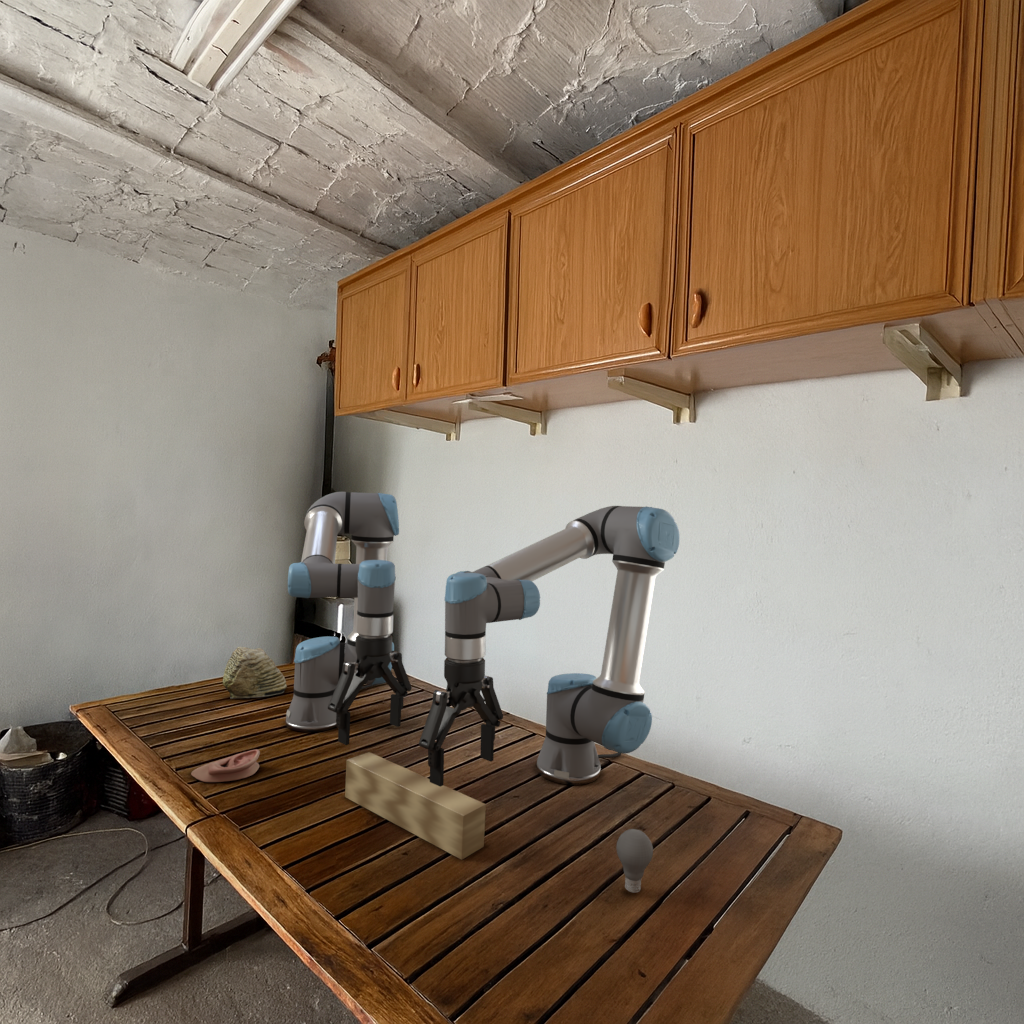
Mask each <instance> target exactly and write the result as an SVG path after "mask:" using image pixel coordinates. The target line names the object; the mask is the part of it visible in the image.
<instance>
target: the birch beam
mask: <svg viewBox="0 0 1024 1024" xmlns="http://www.w3.org/2000/svg"><path fill="white" fill-rule="evenodd" d="M345 765H346V766H345V787H344V788H345V789H344V798H346V799H348V800H350V801H352V802H353V803H355V804H357V805H359V806H360V807H362V808H364V809H366V810H368V811H370V812H371V813H374V814H375V815H377V816H379V817H381V818H383V819H385V820H387V821H388V822H390V823H392V824H394V825H396V826H398V827H400V828H402V829H404V830H405V831H407V832H409V833H411V834H413V835H414V836H416V837H418V838H420V839H422V840H424V841H426V842H428V843H430V844H431V845H432V846H435V847H436V848H439V849H440V850H443V851H444V852H446V853H448V854H450V855H452V856H454V857H455V858H458V859H459V860H461V861H463V860H464V859H466V858H467V857H469V856H471V855H472V854H475V853H476V852H477V851H479V850H480V849H483V848H484V846H485V831H486V830H485V829H486V806H487V805H486V803H484V802H482V801H480V800H477V799H476V798H473V797H470V796H469V795H466V794H465V793H462V792H460V791H457V790H455V789H452V788H451V787H449V786H446V785H444V784H443V786H441V787H440V786H438V785H435V784H433V783H431V782H430V778H429V777H426V776H424V775H421V774H419V773H417V772H415V771H412V770H411V769H408V768H406V767H404V766H402V765H399V764H397V763H395V762H392V761H391V760H388V759H385V757H384V758H383V757H381V756H379V755H377V754H375V753H372V752H370V751H368V752H365V753H361V754H359V755H356V756H354V757H351V758H348V759H346V763H345Z"/></svg>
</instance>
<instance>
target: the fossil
mask: <svg viewBox="0 0 1024 1024" xmlns="http://www.w3.org/2000/svg"><path fill="white" fill-rule="evenodd" d="M222 676H223V677H222V685H223V687H224V688H225V690H226V691H228V693H229V698H230V699H250V698H264V697H271V696H275V695H281V694H284V693H285V691H286V689H287V687H288V686H287V680H286V678H285V676H284V674H283V673H282V672H281V669H279V668H278V667H277V665H276V663H275V662H274V660H273V659H272V658H271V657H270V656H269V655H268V654H267V653H266V652H265V650H264V649H263V648H260V647H258V648H251V647H247V646H246V647H245V646H238V647H237V648H236V649H235V650H233V651H232V653H231V656H230V657H229V659H228V660H227V663H226V666H225V668H224V671H223V675H222Z"/></svg>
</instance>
